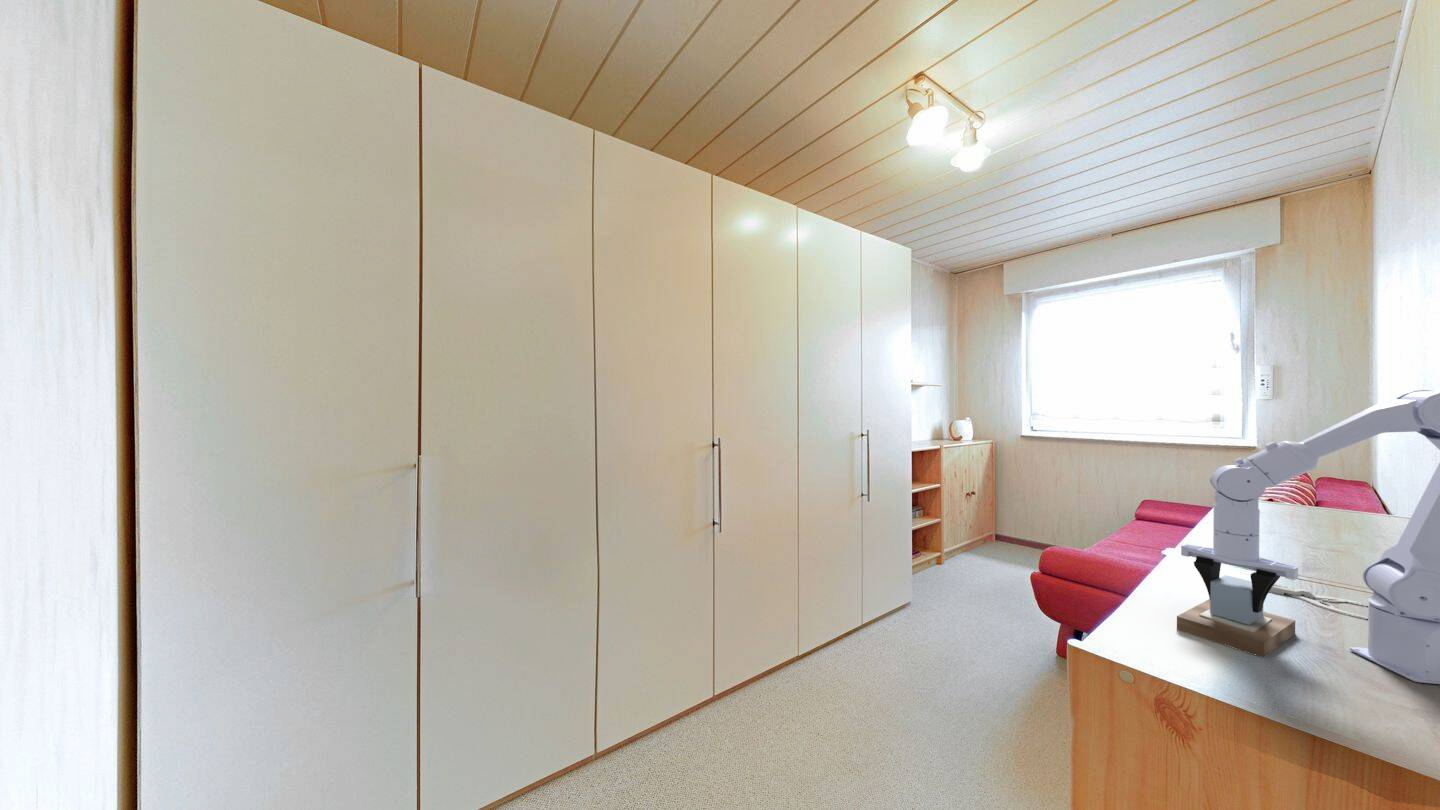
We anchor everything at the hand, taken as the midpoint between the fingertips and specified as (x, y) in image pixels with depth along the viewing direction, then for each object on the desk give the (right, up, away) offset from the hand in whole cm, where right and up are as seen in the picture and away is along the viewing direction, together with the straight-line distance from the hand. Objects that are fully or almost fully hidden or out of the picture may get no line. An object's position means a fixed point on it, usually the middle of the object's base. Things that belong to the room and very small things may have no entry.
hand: (1235, 605), depth 88 cm
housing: (+1, -2, 0) cm, 2 cm away
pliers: (+30, -5, +12) cm, 33 cm away
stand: (0, -5, 0) cm, 5 cm away
